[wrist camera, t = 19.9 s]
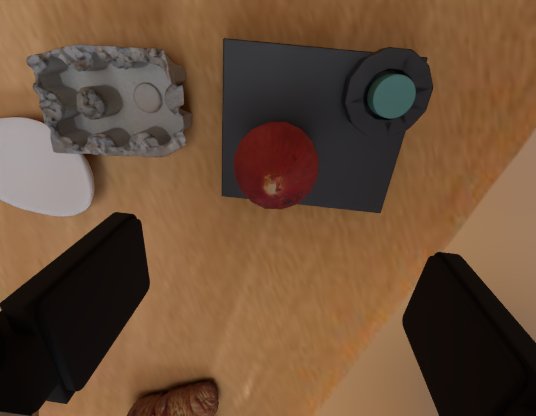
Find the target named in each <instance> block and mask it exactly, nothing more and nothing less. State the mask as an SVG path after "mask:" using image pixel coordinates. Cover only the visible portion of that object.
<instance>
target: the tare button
mask: <svg viewBox="0 0 536 416" xmlns="http://www.w3.org/2000/svg"><path fill="white" fill-rule="evenodd" d="M415 95H416V90H415V85H414V83H413V82H412V80H411V79H410V78H409V77H407V76H405V75H401V74H386V75H383V76H381V77H379V78H377V79H376V80H375V81H374V82H373V83H372V85H371V86H370V88H369V90H368V94H367V102H368V105H369V107H370V109H371V110H372V111H373V112H374V113H376V114H378V115H380V116H382V117H384V118H390V119H391V118H397V117H399V116H401V115H403V114H404V113H406V112H407V111H408V110H409V109H410V107H411V106H412V104H413V102H414V100H415Z"/></svg>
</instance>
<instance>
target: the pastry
mask: <svg viewBox="0 0 536 416" xmlns="http://www.w3.org/2000/svg"><path fill="white" fill-rule="evenodd" d="M218 404H219V402H218V394H217V391H216V388H215V386H214V385H213V384H212V382H210V381H199V382H195V383H191V384H188V385H183V386H178V387H175V388H173V389H172V390H170V391H163V392H161V393H160V392H159V393H152V394H149V395H146V396H144V397H142V398H140V399H139V400H138V401H137V402H135V403H134V405H133V406H132V408H131V409H130V410H129V413H128V415H127V416H214V414H215V413H216V412H217V409H218Z"/></svg>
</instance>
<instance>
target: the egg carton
mask: <svg viewBox="0 0 536 416" xmlns="http://www.w3.org/2000/svg"><path fill="white" fill-rule="evenodd" d="M26 61H27V64H28V66H30V67H31V68H32V69H33V70H34V74H35V77H36V82H35V83H34V84H33V89H34V90H35V91H36V93H37V94H38V95H39V98H40V108H41V110H42V112H43V118H44V124H45V125H47V126H48V127H49V129H50V130H51V135H50V138H51V144H52V148H53V152H55V153H68V154H85V153H88V154H93V155H96V154H103V155H105V156H118V155H122V156H146V157H163V156H167V155H169V154H171V153H173V152H174V151H176V150H178V149H179V148H181V147H183V146H185V144H186V139H185V137H184V134H183V131H184V129H186V128H188V127H190V126H191V125H192V114H191V113H190V112H187V111H184V110H182V109H181V108H180V107H181V106H182V105H184V94H183V87H182V85H181V86H177V85H178V84H179V83H181V82H183V81H185V70H184V67H182V66H179V65H177V64H175V63H173V62H172V61H171V60H170V58H169V57H168V55H167V53H165V52H164V51H163V50H162V49H161V50H159V49H157V48H126V47H118V46H92V45H71V46H67V47H62V48H58V49H56V50H52V51H48V52H45V53H41V54H35V55H31V56H29V57H28V58H27V59H26Z"/></svg>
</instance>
